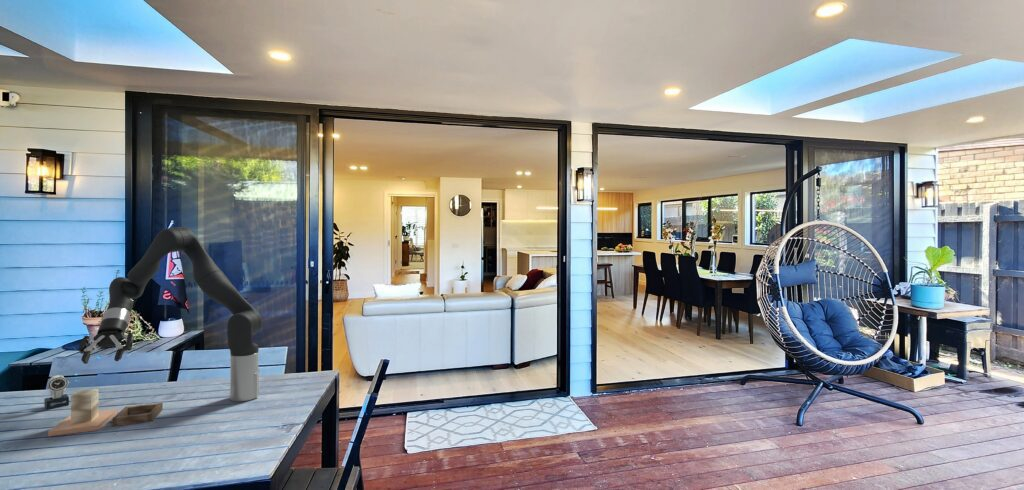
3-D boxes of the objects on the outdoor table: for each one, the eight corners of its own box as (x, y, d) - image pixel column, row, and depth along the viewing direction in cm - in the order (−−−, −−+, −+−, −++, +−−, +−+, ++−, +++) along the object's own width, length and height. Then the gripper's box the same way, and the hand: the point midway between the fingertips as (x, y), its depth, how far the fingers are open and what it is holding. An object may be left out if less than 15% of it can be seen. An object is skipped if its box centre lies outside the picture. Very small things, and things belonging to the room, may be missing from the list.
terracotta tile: (117, 413, 151) (117, 408, 151) (98, 429, 138) (98, 425, 138) (71, 418, 146) (71, 414, 146) (48, 436, 134) (48, 431, 134)
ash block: (98, 415, 146) (98, 388, 146) (91, 421, 141) (91, 393, 141) (78, 417, 144) (78, 390, 144) (70, 423, 139) (70, 396, 139)
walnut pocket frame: (162, 409, 155) (162, 402, 155) (152, 421, 145) (152, 413, 145) (125, 413, 151) (125, 406, 151) (112, 426, 141) (112, 418, 141)
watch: (47, 411, 151) (47, 380, 151) (43, 406, 156) (43, 375, 156) (70, 406, 156) (70, 376, 156) (65, 401, 161) (65, 371, 160)
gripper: (86, 318, 157) (69, 358, 147) (136, 315, 163) (123, 354, 153) (93, 329, 162) (77, 368, 152) (141, 327, 168) (129, 364, 158)
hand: (100, 361), depth 153 cm, fingers open, 8 cm apart
